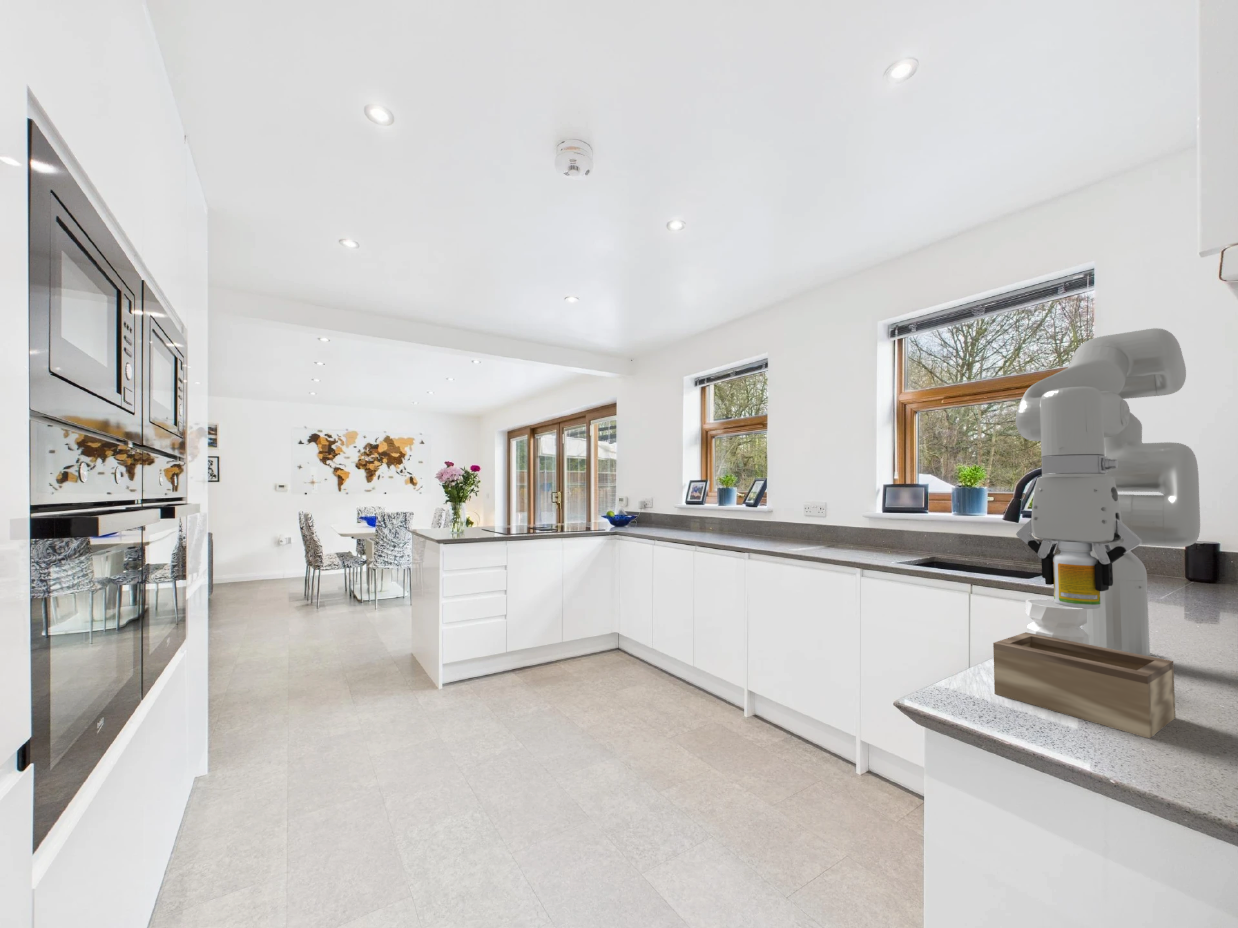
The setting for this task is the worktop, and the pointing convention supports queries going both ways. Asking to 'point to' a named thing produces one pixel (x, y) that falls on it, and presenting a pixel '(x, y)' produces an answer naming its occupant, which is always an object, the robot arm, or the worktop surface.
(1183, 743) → the worktop surface
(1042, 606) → the vase
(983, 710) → the worktop surface
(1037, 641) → the wooden box
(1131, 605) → the robot arm
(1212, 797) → the worktop surface
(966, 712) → the worktop surface
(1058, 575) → the supplement bottle
